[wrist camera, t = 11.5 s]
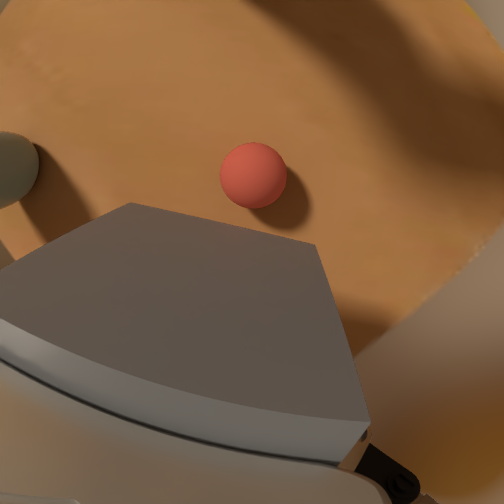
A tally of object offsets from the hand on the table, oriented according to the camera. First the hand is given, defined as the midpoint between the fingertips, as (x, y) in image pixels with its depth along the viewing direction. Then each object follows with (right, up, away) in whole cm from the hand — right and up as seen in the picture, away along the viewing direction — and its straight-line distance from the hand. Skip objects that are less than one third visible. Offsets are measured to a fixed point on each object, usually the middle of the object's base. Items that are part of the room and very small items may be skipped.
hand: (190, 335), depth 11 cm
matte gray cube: (0, +1, +2) cm, 2 cm away
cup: (-22, +13, +16) cm, 30 cm away
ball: (+2, +9, +12) cm, 15 cm away
